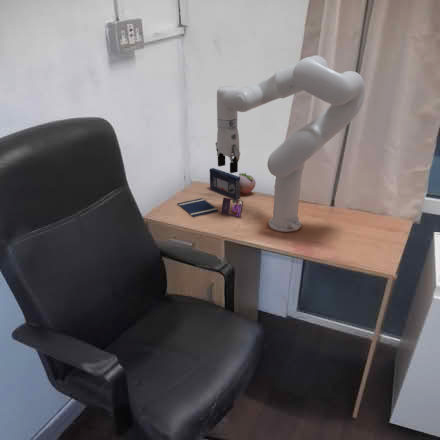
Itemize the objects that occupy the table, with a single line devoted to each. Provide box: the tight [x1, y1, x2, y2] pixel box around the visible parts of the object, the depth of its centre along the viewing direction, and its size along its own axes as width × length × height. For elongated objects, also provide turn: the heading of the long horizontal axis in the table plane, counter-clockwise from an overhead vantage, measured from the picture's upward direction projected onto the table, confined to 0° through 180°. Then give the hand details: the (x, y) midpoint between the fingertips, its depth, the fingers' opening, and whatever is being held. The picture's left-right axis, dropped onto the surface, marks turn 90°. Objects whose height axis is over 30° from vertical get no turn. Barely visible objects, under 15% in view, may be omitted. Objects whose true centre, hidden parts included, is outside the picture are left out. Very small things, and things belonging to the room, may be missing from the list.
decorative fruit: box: [238, 172, 256, 195], centre depth 191 cm, size 9×8×10 cm
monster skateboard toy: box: [220, 197, 244, 218], centre depth 174 cm, size 7×5×9 cm
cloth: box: [177, 197, 219, 218], centre depth 181 cm, size 16×12×1 cm
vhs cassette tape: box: [209, 167, 241, 200], centre depth 192 cm, size 18×3×10 cm, turn 40°
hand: (227, 169), depth 165 cm, fingers open, 9 cm apart
